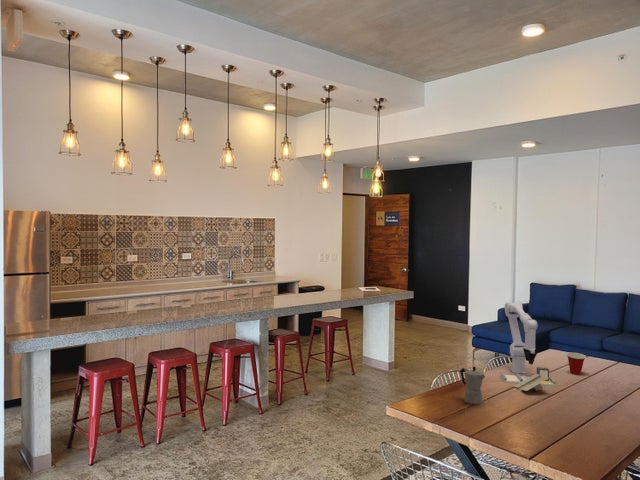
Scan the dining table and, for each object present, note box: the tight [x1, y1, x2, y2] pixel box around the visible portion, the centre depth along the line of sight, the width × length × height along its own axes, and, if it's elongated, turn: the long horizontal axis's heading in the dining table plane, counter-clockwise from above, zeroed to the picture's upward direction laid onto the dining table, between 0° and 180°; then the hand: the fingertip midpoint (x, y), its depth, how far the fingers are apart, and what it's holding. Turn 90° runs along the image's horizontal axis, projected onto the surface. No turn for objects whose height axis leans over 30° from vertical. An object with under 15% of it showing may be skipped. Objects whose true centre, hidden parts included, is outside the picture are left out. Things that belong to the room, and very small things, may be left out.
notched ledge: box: [499, 371, 557, 387], centre depth 285 cm, size 12×28×2 cm, turn 79°
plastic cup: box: [566, 352, 587, 376], centre depth 302 cm, size 11×11×12 cm
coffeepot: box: [459, 366, 486, 405], centre depth 250 cm, size 15×9×18 cm, turn 33°
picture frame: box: [535, 366, 550, 381], centre depth 283 cm, size 4×6×7 cm, turn 80°
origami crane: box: [513, 373, 548, 392], centre depth 268 cm, size 16×9×15 cm
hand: (529, 362), depth 289 cm, fingers open, 7 cm apart
